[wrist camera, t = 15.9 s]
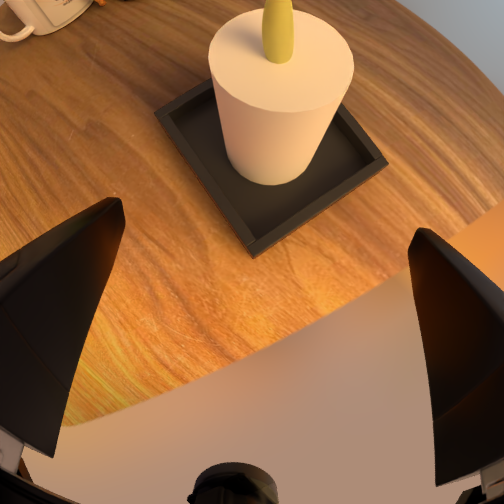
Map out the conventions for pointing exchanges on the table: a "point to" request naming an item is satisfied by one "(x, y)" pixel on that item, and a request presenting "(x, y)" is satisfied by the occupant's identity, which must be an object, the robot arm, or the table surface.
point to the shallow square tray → (268, 196)
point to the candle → (277, 88)
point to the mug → (44, 15)
